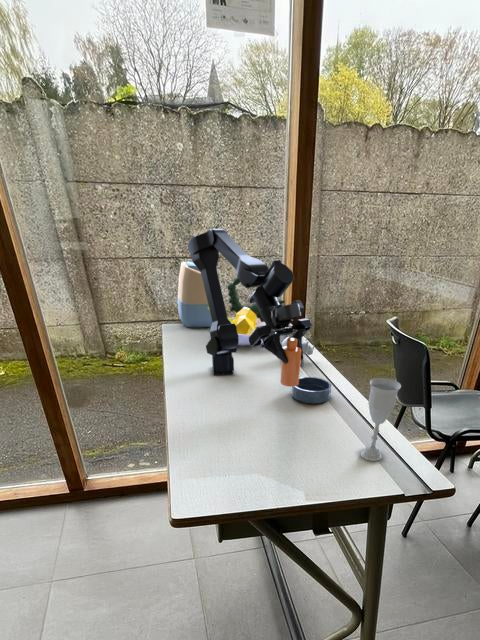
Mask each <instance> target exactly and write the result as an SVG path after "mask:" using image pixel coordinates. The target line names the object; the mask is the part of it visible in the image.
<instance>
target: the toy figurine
mask: <svg viewBox="0 0 480 640" xmlns="http://www.w3.org/2000/svg"><path fill="white" fill-rule="evenodd" d="M240 283H241V282H240V280H239V279H238V277H237V276H236V277H235V278H234V279H233V281H232V282H229V283H228V285H227V290H228V292H227V295H228V297H229V299H228V303H229V304H230V306H229V311H230V312H234V313H235V314H236V313H238V312H239V311H240V310H241V309H242V308H244V307H246V308H249V309H251V310H252V311H253V312H254V313H255V314H256V317H257V318H259V319H260V318H261V317H262V315H261V313H260V311H259V309H258V307H257V305H256V303H251V304H250V305H248V304H247V305H244V304H242V303H241V301H240V297H239V296H238V291H237V286H239V285H240ZM278 301H279V303H280V305H282V304H284V303H285V302H286V300H284V299H283V300H282V299H278Z"/></svg>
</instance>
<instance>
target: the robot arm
mask: <svg viewBox="0 0 480 640" xmlns="http://www.w3.org/2000/svg"><path fill="white" fill-rule="evenodd" d="M187 250H188V252H189V255H190V258H191V262H193V263H194V264H195V265H196V267H197V268H198V269H199V270H200V272H201V276H202V280H203V284H204V288H205V293H206V297H207V301H208V305H209V309H210V314H211V318H212V326H211V327H210V329H209V337H210V339H209V340H208V342H207V343H206V345H205V350H206V353H207V355H208V354H209V355H210V356H211V361H212V362H211V363H212V364H211V365H212V366H211V370H212V373H213V375H214V376H215V375H216V376H218V375H219V376H220V375H233V374H234V371H235V358H234V355H233V354H235V353H237V350H238V347H239V345H238V342H239V339H238V337H239V336H238V333H237V328H236V325H235V323H233V324H232V323H231V322H230V321H229V320H228V317H229V316H228V313H227V308H226V304H225V300H224V295H223V291H222V287H221V282H220V278H219V273H218V268H217V266H218V263H219V259H220V255H222V257H223V258H224V259H225V260H226V261H227V262H228V263H229V264H230V265H231V266H232V267H233V268H234V269H235V271H236V278H237V277H238V279H239V280H240V283H241V285H242V286H243V287H244V288H245V289H252V288H255V289H254V291H251V292H250V297H249V301H248V302H249V304H253V303H256V305H257V307H258V309H259V311H260V313H261V315H262V317H261V318H260V321H261V322H265V324H266V325H264V326H258V327H256V328H255V329H254V331H253V332H252V333H251V335H250V336H249V343H250V345H249V346H250V347H251V348H256V347H261V348H262V349H265V350H267V351H268V352H270V353H271V354H273V355H274V356H275V357H276V358H277V359H279V360H280V361H281V362H282V361H283V362H284V363H285V364H287V363H288V359H287V356H286V354H285V352H284V349H283V347H282V345H281V343H282V342H281V336H287V337H289V338H296V339H298V342H297V347H299V348H301V361H302V360H304V354H303V350H302V342H303V337H304V336H306V334H307V333H308V332H310V330H311V329H312V328H313V327H314V326H313V323H312V321H311V319H310V318H307V317H306V318H301V317H302V314H303V313H304V312H305V308H304V305H303V302H302V301H301V299H298V300H295V301H292V302H291V303H290V304H289V303H288V304H286V305H285V304H284V303H283V304H281V305H280V303H279V301H278V300H279V299H278V298H281V297H282V296H283V294H284V293H285V292H286V291H287V290H288V288H289V287H290V286H291V285H292V283H293V282H294V280H295V279H294V278H295V276H294V271H293V270H292V269H291V268H290V267H288V266H287V265H286V264H284V263H282V261H281V259H274V260H273V261H272V262H271V264H270V266H269V267H268V265H267V264H266V263H265V262H263V261H261V260H260V259H258V258H256V257H254V256H250V254H248V253H247V252H246V251H245V250H244V249H243V248H241V246H240V245H239V244H238V243H237V242H236V241H235V240H234V239H233V238H232V237H231V236H230V235H229V234H228V231H227V230H226V229H225V228H210V229H209V230H206V231H205V232H204V233H203V232H202V233H199V234H198V235H192V236H191V237H190V239H189V241H188V242H187ZM295 318H299V319H297V320H296V321H295V322H294V319H295ZM300 318H301V319H300ZM293 322H294V323H293ZM292 323H293V325H291V326H290V324H292ZM261 339H262V340H263V343H262V344H261V342H262V341H261Z"/></svg>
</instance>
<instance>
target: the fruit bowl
mask: <svg viewBox="0 0 480 640" xmlns="http://www.w3.org/2000/svg"><path fill="white" fill-rule="evenodd" d="M207 308H208V309H209V306H208V307H207ZM209 310H210V309H209ZM227 317H228V320H229V321H230V322H231V323H232V324H233V323H235V325H236V328H237V333H238V336H239V337H238V339H239V342H238V347H239V346H240V347H241V346H242V347H243V346H251V345H250V343H249V336H250V335H251V333H252V332H253V331H254V329H255V328H256V327H258V326H264V325H266V324H265V322H261V321H260V319H259V318H257V317H256V314H255V313H254V312H253V311H252V310H251V309H249V308H246V307H244V308H242V309H241V310H240V311H239V312H238V313H236V312H235V316H232V317H229V316H227ZM261 341H262V342H261V345H263V344H264V343H263V340H262V339H261Z"/></svg>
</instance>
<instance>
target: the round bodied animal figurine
mask: <svg viewBox="0 0 480 640" xmlns="http://www.w3.org/2000/svg"><path fill="white" fill-rule="evenodd" d="M287 338H289V336H287V337H285V338H284V339H283V341H282V342H280V343H281V345H282V347H285V346H287ZM314 349H315V345H314V344H313V345H311V344H310V343H309V341H308V339H307V338H305V340H304V341H303V340H302V350H303V355H304V354H306V355H308V356H311V355H312V354H313V353H314Z"/></svg>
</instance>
